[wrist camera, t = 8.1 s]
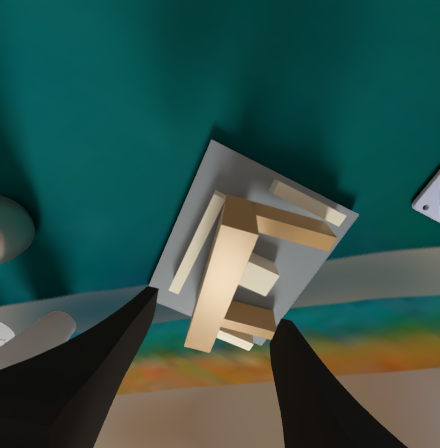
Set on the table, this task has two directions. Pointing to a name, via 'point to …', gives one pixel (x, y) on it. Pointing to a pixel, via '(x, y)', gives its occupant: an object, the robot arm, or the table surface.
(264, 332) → the wooden c-shaped bracket
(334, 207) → the stand
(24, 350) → the smoothie
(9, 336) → the beverage cup
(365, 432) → the robot arm
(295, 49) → the table surface
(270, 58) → the table surface
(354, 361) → the table surface
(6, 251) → the plastic bottle
